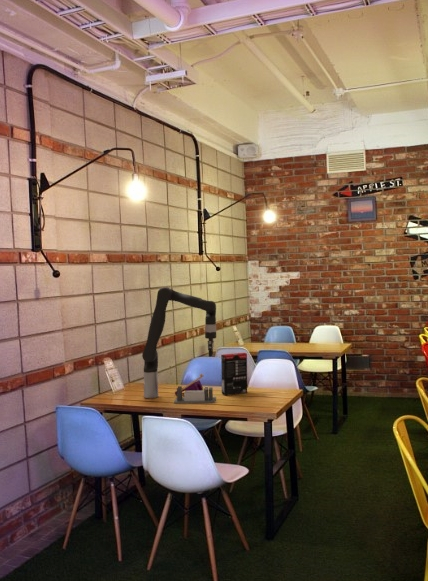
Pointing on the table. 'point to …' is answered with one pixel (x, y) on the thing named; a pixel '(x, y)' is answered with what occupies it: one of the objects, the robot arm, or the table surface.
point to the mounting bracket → (193, 387)
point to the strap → (192, 382)
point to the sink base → (195, 396)
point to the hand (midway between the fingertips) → (210, 355)
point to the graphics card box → (234, 373)
